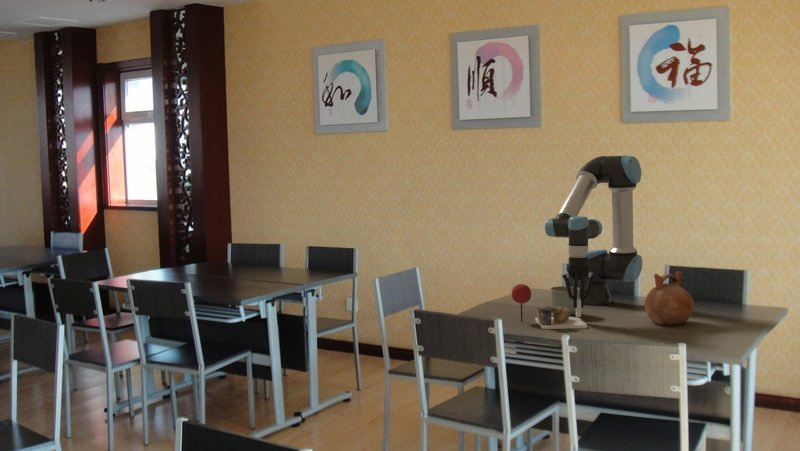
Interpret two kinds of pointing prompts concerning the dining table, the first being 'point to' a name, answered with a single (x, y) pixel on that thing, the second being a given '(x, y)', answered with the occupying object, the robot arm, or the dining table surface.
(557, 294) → the planter
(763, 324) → the dining table surface
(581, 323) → the board
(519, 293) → the lollipop
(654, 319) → the jug
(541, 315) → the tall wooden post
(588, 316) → the dining table surface
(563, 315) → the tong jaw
